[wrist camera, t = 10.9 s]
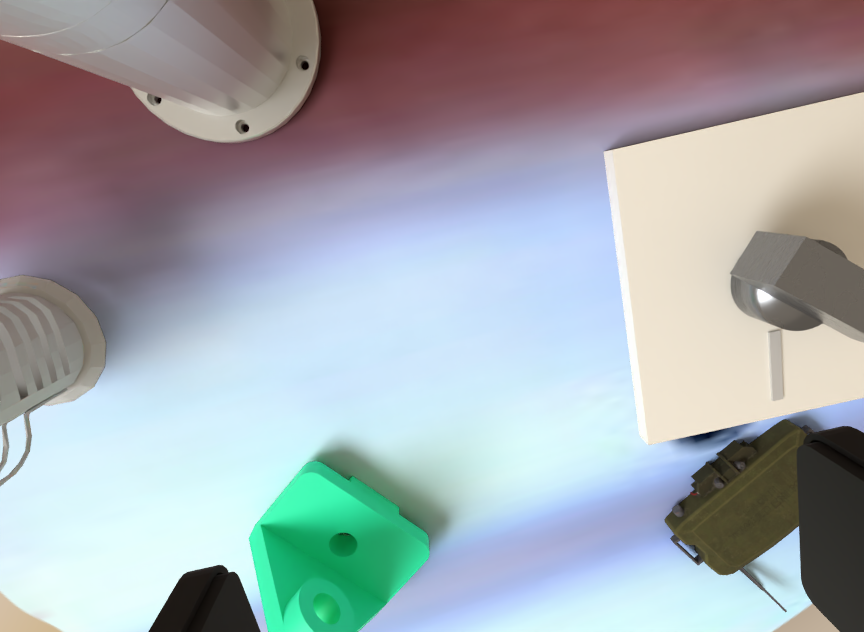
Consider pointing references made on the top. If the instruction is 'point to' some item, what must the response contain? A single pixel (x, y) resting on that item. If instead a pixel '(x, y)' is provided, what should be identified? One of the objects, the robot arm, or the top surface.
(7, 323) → the french press
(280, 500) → the camera mount
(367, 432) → the top surface
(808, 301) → the knob
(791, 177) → the dial plate
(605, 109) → the top surface
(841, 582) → the robot arm
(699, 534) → the landmine
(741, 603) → the top surface
